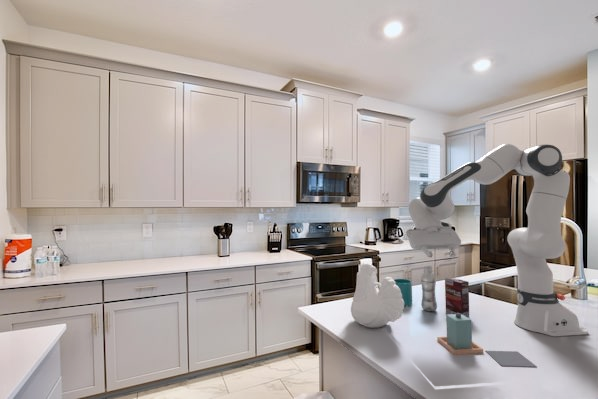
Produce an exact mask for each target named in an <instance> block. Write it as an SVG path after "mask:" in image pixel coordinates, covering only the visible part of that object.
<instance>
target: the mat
mask: <svg viewBox="0 0 598 399" xmlns="http://www.w3.org/2000/svg"><path fill="white" fill-rule="evenodd" d="M485 353H486V354H487V355H489V356H490V357H491V358H492V359H493V360H494V361H495V362H496V363H497V364H498V365H499V366H500V367H508V368H509V367H515V368H517V367H518V368H538V366H537V365H536V364H534V363H533V362H532V361H531V360H529V359H528V358H526V357H525V356H524V355H523V354H522V353H520V352H519V351H515V350H514V351H510V350H485Z"/></svg>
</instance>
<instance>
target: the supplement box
mask: <svg viewBox="0 0 598 399" xmlns="http://www.w3.org/2000/svg"><path fill="white" fill-rule="evenodd" d="M469 285H470V284H469V281H466V280H463V279H460V278H455V277H453V276H452V277H446V278H444V289H445V291H444V294H445V295H444V296H445V298H444V299H445V314H446V315H448V314H456V313H461V314H462V315H464V316H466V317H467V318H469V319H470V293H469V292H470V289H469V287H470V286H469Z"/></svg>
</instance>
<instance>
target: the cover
mask: <svg viewBox="0 0 598 399" xmlns="http://www.w3.org/2000/svg"><path fill="white" fill-rule="evenodd" d="M445 317H446V318H445V319H446V320H445V321H446V337H447V343H448V344H449V345H450V346H451V347H453V348H454V349H455V350H461V349H472V342H473V333H472V332H473V331H472V330H473V329H472V319H471V318H470V317H469V318H467V317H466V316H464V315H462V314H461V313H456V314H446V315H445Z"/></svg>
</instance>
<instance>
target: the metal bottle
mask: <svg viewBox="0 0 598 399" xmlns="http://www.w3.org/2000/svg"><path fill="white" fill-rule="evenodd" d="M433 272H434V271H433V267H432V266H424V267H423V273H422V274H421V276H420V282H421V291H422V294H421V295H422V296H421V308H422V310H424V311H426V312H435V311H436V310H437V309H438V303H437V301H436V300H437V298H436V285H437V284H436V282H437V279H436V276H435V275H434V273H433Z"/></svg>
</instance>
